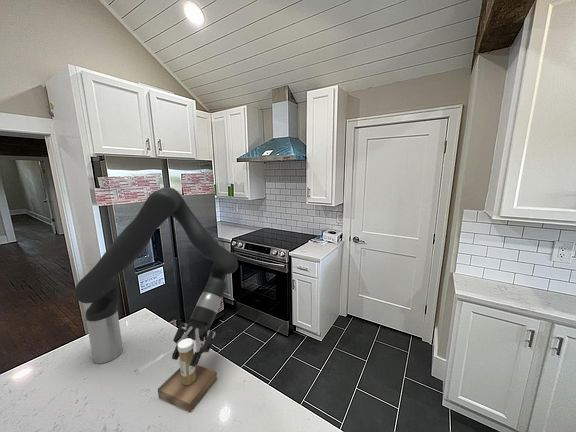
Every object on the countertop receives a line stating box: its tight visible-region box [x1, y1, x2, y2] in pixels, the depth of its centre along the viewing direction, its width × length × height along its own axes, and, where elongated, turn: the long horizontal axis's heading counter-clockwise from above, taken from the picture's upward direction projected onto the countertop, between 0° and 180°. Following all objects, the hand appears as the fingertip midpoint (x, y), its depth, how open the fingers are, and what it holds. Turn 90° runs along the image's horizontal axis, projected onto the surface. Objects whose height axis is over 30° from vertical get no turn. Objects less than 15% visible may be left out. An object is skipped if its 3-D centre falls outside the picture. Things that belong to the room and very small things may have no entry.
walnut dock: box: [157, 364, 218, 413], centre depth 75 cm, size 13×12×3 cm
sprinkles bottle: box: [178, 338, 196, 385], centre depth 74 cm, size 5×5×13 cm
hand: (183, 362), depth 72 cm, fingers open, 6 cm apart
